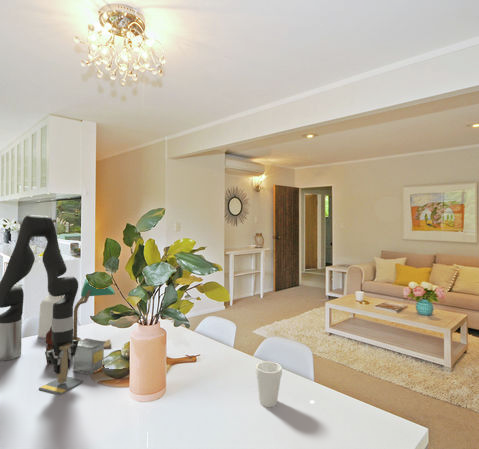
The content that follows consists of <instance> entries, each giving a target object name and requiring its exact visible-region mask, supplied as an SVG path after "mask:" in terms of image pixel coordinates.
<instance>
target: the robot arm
mask: <svg viewBox="0 0 479 449" xmlns="http://www.w3.org/2000/svg"><path fill="white" fill-rule="evenodd" d="M17 235H18V236H17V239H16V243H15V245H14V248H13V250H12V253H11V256H10V257H9V260H8V261H7V262H8V263H7V265H6V268H5V271H4V273H3V276H2V277H1V280H0V309H2V308H8V309H7V310H5V311H3V313H0V361H4V362H5V361H11V360H15V359H17V358H19V357H21V356H22V332H23V331H22V330H23V329H22V328H23V327H22V323H23V321H22V316H23V313H24V312H23V311H24V310H23V309H24V300H25V299H24V296H25V295H24V289H23V288H22V286H21V285H17V283H19V282H20V281H22V280H23V279H24V278H25V277H26V276H28V275H29V273H30V272H31V271H32V268H33V266H34V263H35V260H36V259H35V253H34V251H33V250H32V248H31V245H30V240H31V239H32V238H39V237H40V238H43V237H44V238H45V240H46V241H47V242H46V245H45V248H44V250H43V253H42V264H43V266H44V269H45V272H46V275H47V276H46V277H47V292H48V294H50V295H52V296H54V297H57V296H63V295H64V298H63V299H62V300H60V301H58V302H56V303H54V305H53V319H52V342H53V345H52V349H51V350H49V351H46V350H45V352H44V355H45V359H46V358H47V360H48V363H49V364H50V365H51V366H53V373H54V374H55V375H57V374H60V361H61V358H62V356H63V352H64V350H59V346H62V345H64V344H67V343H69V342H70V343H71V347H70V348H69V349H67V358H68V370H69V369H70V368H71V359H72V358H73V357H72V356H75V353H76V349H77V345H78V341H76V340H72V339H73V334H74V304H75V299H76V296H77V293H78V291H79V281H78V279H77V278H76V277H75V276H71V275H70V276H64V277H63V275H65V274H66V273H67V270H68V268H67V265H66V263H65V261H64V257H63V255H62V253H61V249H60V245H59V240H58V236H57V230H56V227H55V223H54V220H53V219H52V217H50V215H49V216H48V215H37V214H36V215H35V214H34V215H33V214H30V215H25V216H24V218H23V219H22V222H21V224H20V227H19V232H18V234H17ZM61 276H62V277H61ZM72 350H73V352H72ZM58 355H59V356H58ZM47 360H46V361H47ZM49 364H48V365H49ZM50 365H49V366H50Z"/></svg>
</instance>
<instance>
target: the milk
mask: <svg viewBox="0 0 479 449" xmlns="http://www.w3.org/2000/svg"><path fill="white" fill-rule="evenodd" d="M64 296H65V295H63V296H57V297H54V296H52V295H50V294H49V293H48V294H47V295H46V296H45V297H44V299H43V300H41V302H40V305H39V316H38V317H39V318H38V329H37V330H38V331H37V337H39V338H43V339H46V334H47V332H48V331H50V327H51V326H52V319H53V305H54V303H56V302H58V301H60V300H62V299H63V298H64Z"/></svg>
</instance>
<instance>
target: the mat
mask: <svg viewBox="0 0 479 449" xmlns="http://www.w3.org/2000/svg"><path fill="white" fill-rule="evenodd" d="M66 378H67V380H66V382H64V383H58V379H57V378H55V379H53V380H52V381H50V382H47V383H46V384H44V385H42V386H40V387H38V390H39V391H43V392H47V393H51V394H56V395H58V396H61V395H64V394H65V393H67V392H69V391H71V390H72V389H74V388H76V387H77V386H80V384H82V383H84V382H85V380H84V379H81V378H76V377H72V376H68V375H67V377H66Z"/></svg>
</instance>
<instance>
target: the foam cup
mask: <svg viewBox="0 0 479 449" xmlns="http://www.w3.org/2000/svg"><path fill="white" fill-rule="evenodd" d="M255 374H256V380H257V390H258V391H257V392H258V401H259V404H260V405H261V406H262V407H265V408H273V407H275V406H276V405H277V403H278V397H279V391H280V384H281V379H282V375H283V368H282V366H281V364H279V363H277V362H275V361H268V360H267V361H261V362H258V363H256V365H255Z"/></svg>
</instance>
